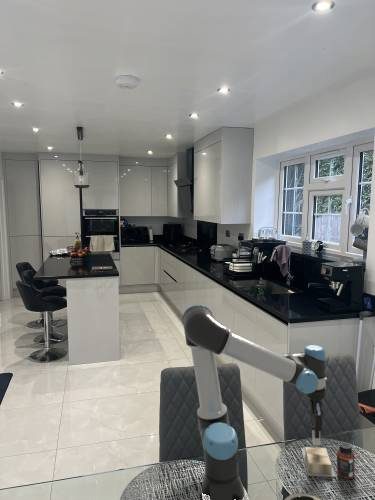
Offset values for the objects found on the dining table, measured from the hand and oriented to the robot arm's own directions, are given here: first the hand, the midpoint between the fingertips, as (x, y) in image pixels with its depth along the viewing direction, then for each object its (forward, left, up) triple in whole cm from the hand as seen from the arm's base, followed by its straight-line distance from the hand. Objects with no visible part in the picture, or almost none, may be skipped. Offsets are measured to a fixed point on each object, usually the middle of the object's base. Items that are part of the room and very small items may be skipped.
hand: (316, 443), depth 142 cm
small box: (0, +2, -5) cm, 5 cm away
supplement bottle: (+9, -7, -7) cm, 13 cm away
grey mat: (0, -1, -7) cm, 7 cm away
